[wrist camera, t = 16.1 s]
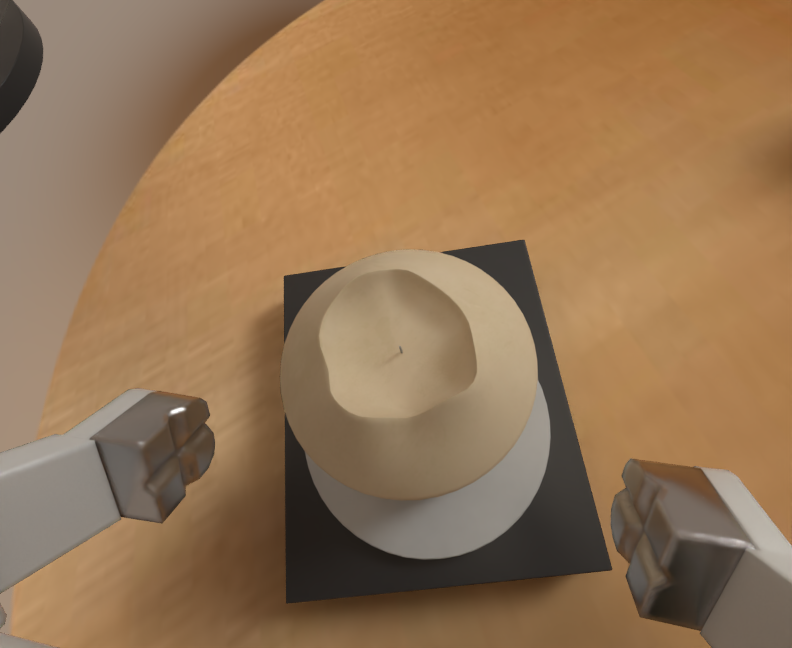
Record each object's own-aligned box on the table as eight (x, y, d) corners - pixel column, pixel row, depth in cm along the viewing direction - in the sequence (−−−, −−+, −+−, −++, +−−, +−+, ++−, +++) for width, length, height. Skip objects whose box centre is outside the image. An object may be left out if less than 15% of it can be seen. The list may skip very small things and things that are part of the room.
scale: (304, 590, 17) (279, 608, 15) (297, 294, 23) (278, 269, 20) (592, 560, 17) (619, 573, 14) (517, 261, 22) (526, 231, 19)
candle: (519, 408, 16) (618, 309, 7) (435, 525, 15) (423, 589, 6) (412, 330, 18) (380, 168, 9) (329, 430, 17) (190, 363, 8)
